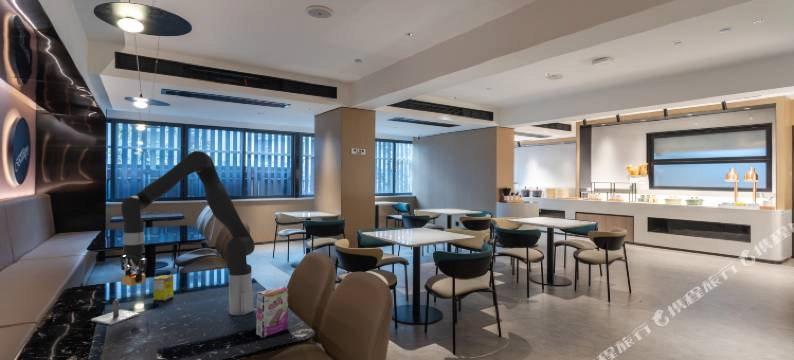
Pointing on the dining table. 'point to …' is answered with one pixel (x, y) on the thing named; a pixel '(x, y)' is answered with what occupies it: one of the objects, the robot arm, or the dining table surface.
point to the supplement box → (163, 288)
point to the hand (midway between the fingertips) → (133, 281)
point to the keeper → (115, 315)
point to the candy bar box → (272, 311)
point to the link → (131, 279)
